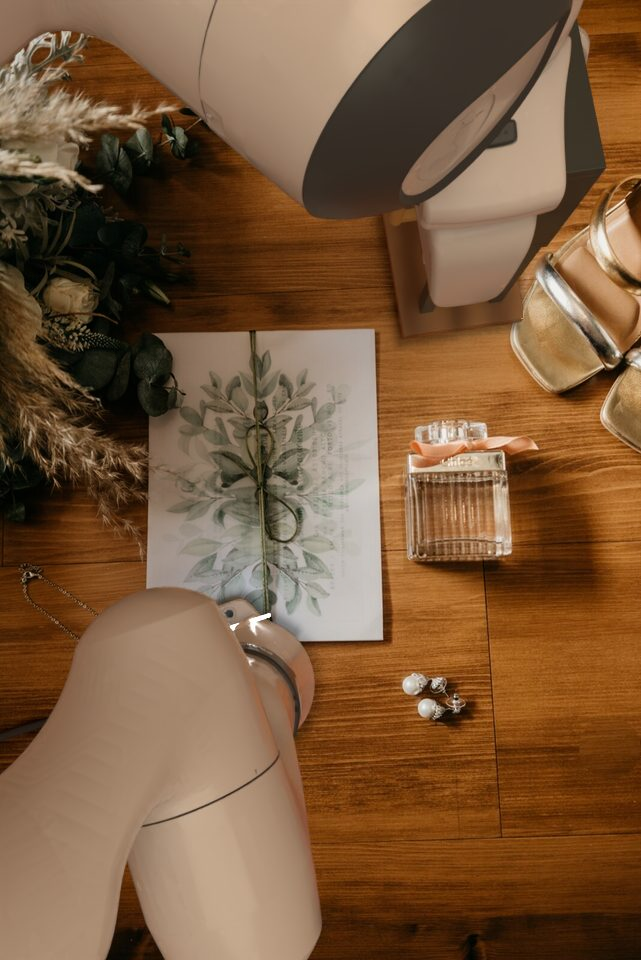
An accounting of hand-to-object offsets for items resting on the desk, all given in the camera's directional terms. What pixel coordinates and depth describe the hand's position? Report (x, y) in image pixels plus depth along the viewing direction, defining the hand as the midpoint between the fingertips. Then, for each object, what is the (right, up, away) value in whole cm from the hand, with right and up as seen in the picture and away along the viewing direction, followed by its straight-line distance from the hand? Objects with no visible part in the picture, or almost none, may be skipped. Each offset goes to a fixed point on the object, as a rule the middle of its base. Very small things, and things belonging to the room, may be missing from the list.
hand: (422, 182), depth 46 cm
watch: (+19, +27, +40) cm, 52 cm away
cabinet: (+8, +8, +37) cm, 39 cm away
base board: (+8, +8, +38) cm, 40 cm away
